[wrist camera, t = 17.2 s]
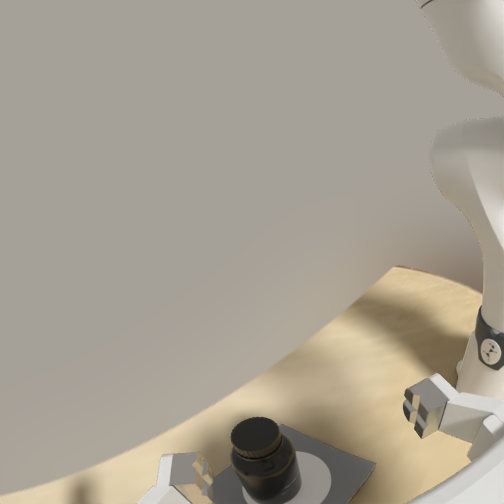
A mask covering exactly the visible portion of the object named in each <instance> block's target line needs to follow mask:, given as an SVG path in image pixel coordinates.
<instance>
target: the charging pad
mask: <svg viewBox="0 0 504 504" xmlns="http://www.w3.org/2000/svg"><path fill="white" fill-rule="evenodd" d="M279 430H280V432H281V433H283V434H284V435H286V436H287V437H288V438H289V439H290V440H291V441H292V443H293V445H294V448H295V452H296V456H297V461H298V465H299V470H300V475H301V480H302V484H301V488H300V490H299V492H298V494H297V495H296V496H295V497H294V498H293V499H292V500H290V501H288V502H286V503H284V504H348V502H349V501H350V500H351V499H352V498H353V496H354V495H355V494H356V493H357V491H358V490H359V489H360V488H361V486H362V485H363V484H364V482H365V481H366V480H367V478H368V477H369V476H370V474H371V473H372V471H373V470H374V469H375V466H376V463H374V462H371V461H368V460H365V459H362V458H359V457H357V456H354V455H351V454H349V453H346V452H344V451H341V450H339V449H336V448H334V447H331V446H329V445H327V444H324V443H322V442H320V441H317V440H315V439H313V438H311V437H309V436H306V435H304V434H302V433H300V432H298V431H296V430H294V429H292V428H290V427H287V426H285V425H283V424H281V425H280V426H279ZM210 487H211V488H212V489H213V498H214V503H215V504H259V503H257V502H255V501H254V500H252V499H251V498H250V496H249V495H248V494H247V492H246V490H245V489H244V487H243V485H242V483H241V481H240V480H239V478H238V476H237V474H236V472H235V471H234V469H233V467H232V465H231V466H230V467H229V468H227V469H226V470H225V471H223V472H222V473H221V474H219V475H218V476H216V477H215V478H214V479H213V482H212V484H211V485H210Z"/></svg>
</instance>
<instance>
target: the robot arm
mask: <svg viewBox="0 0 504 504" xmlns="http://www.w3.org/2000/svg"><path fill="white" fill-rule="evenodd" d="M416 2H417V4H418V5H419V7H420V9H421V11H422V12H423V14H424V16H425V18H426V19H427V21H428V23H429V25H430V26H431V28H432V30H433V32H434V34H435V36H436V38H437V40H438V42H439V44H440V46H441V48H442V50H443V52H444V54H445V56H446V59H447V61H448V63H449V64H450V66H451V67H452V68H453V69H454V71H455V72H457V74H459V75H460V76H461V77H463V78H464V79H466V80H467V81H469V82H471V83H474V84H476V85H479V86H482V87H484V88H487V89H489V90H492V91H495V92H497V93H499V94H500V95H502V96H503V97H504V0H416ZM429 163H430V170H431V174H432V177H433V179H434V182H435V184H436V185H437V187H438V189H439V190H440V192H441V193H442V194H443V196H444V197H445V198H446V199H448V200H449V201H450V202H451V203H453V204H454V205H455V206H456V207H457V208H458V209H459V210H460V211H461V212H462V213H463V214H464V216H465V217H466V218H467V220H468V221H469V222H470V224H471V226H472V228H473V230H474V232H475V234H476V236H477V239H478V241H479V244H480V247H481V251H482V256H483V266H484V285H483V299H482V305H481V307H480V308H479V312H478V315H477V319H476V329H475V331H473V332H472V333H471V334H470V337H469V341H468V344H467V348H466V351H465V355H464V358H463V359H462V360H460V361H459V362H458V364H457V366H456V371H457V375H458V381H457V385H456V390H455V389H454V388H453V387H452V386H451V385H450V384H449V383H448V382H447V381H446V380H445V379H444V378H443V377H442V376H441V375H440V374H439V373H435V374H433V375H432V376H430V377H428V378H426V379H424V380H422V381H420V382H418V383H417V384H415V385H413V386H411V387H409V388H407V389H406V390H405V394H404V396H405V397H406V400H405V401H404V403H403V410H404V414H405V416H406V418H407V420H408V421H409V422H411V423H414V424H415V426H414V430H415V431H416V432H417V434H418V435H419V436H420V438H421V439H423V438H425V437H427V436H428V435H430V434H432V433H434V432H435V431H437V430H439V431H441V432H443V433H446V434H448V435H451V436H454V437H456V438H459V439H461V440H464V441H467V442H470V443H472V446H471V448H470V449H469V451H468V454H467V456H468V458H469V459H470V460H471V463H469V464H468V465H466V466H465V467H464V468H462V469H461V470H459V471H458V472H456V473H455V474H454V475H452V476H451V477H449V478H447V479H446V480H444V481H443V482H441V483H440V484H438V485H436V486H435V487H433V488H431V489H429V490H428V491H426V492H424V493H422V494H421V495H419V496H417V497H415V498H413V499H411V500H409V501H407V502H406V503H404V504H504V117H492V118H491V117H490V118H480V119H471V120H464V121H462V122H458V123H456V124H453V125H450V126H448V127H445V128H443V129H440V130H438V131H437V132H436V134H435V136H434V138H433V140H432V143H431V146H430V153H429ZM212 482H213V473H212V469H211V467H210V465H209V463H208V462H207V461H204V460H203V455H202V454H201V452H191V453H177V454H163V455H162V456H161V459H160V465H159V471H158V477H157V484H156V486H152V488H151V489H150V490H149V491H148V492H147V493H146V494H145V495H144V496H143V497H142V498H141V499H140V500H139V501H138V502H137V503H136V504H209V503H214V498H213V489H212V488H211V487H210V485H211V484H212Z"/></svg>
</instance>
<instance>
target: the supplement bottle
mask: <svg viewBox="0 0 504 504" xmlns="http://www.w3.org/2000/svg"><path fill="white" fill-rule="evenodd" d="M231 442H232V444H233V448H232V450H231V453H230V461H231V464H232V467H233V469H234V471H235V472H236V474H237V476H238V478H239V480H240V481H241V483H242V485H243V487H244V489H245V490H246V492H247V494H248V495H249V496H250V498H251V499H252V500H254V501H255V502H257V503H259V504H284V503H286V502H288V501H290V500H292V499H293V498H294V497H295V496H296V495H297V494H298V492H299V490H300V488H301V484H302V480H301V475H300V470H299V465H298V461H297V456H296V452H295V448H294V445H293V443H292V441H291V440H290V439H289V438H288V437H287V436H286V435H284V434H283V433H281V432H280V430H279V427H278V425H277V424H276V423H275V422H274V421H273V420H271V419H268V418H264V417H253V418H249V419H247V420H244V421H242V422H240V423H239V424H237V426H236V427H235V428H234V429H233V430H232V433H231Z"/></svg>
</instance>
